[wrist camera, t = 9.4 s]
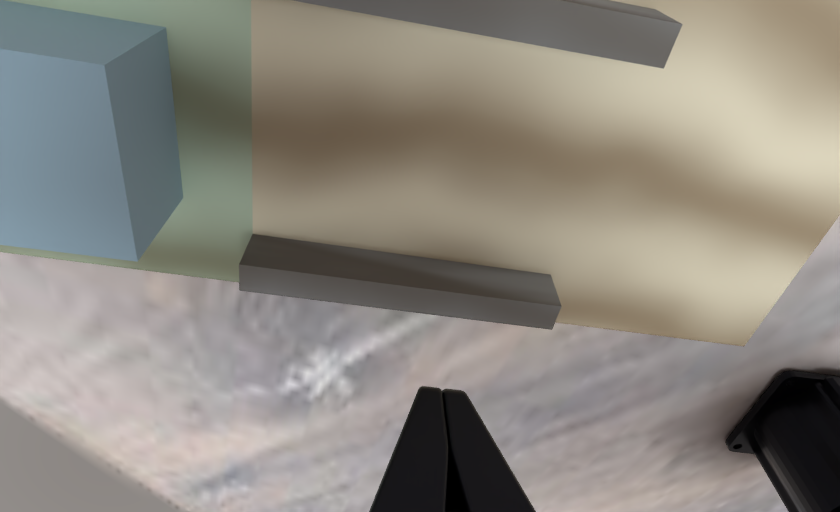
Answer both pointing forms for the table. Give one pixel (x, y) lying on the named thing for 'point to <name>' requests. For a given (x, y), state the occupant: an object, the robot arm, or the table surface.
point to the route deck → (502, 155)
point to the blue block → (85, 133)
